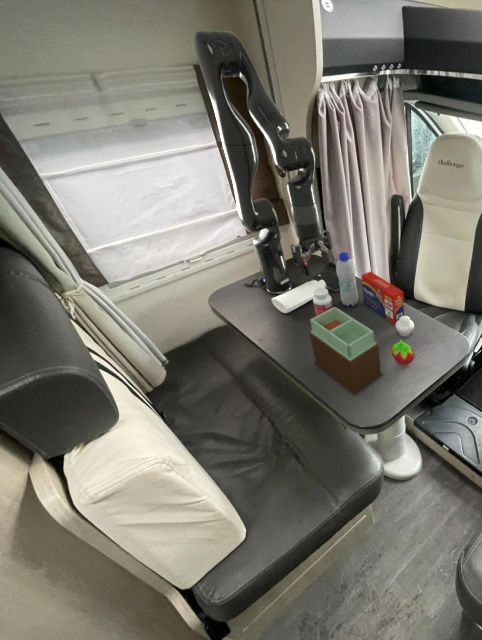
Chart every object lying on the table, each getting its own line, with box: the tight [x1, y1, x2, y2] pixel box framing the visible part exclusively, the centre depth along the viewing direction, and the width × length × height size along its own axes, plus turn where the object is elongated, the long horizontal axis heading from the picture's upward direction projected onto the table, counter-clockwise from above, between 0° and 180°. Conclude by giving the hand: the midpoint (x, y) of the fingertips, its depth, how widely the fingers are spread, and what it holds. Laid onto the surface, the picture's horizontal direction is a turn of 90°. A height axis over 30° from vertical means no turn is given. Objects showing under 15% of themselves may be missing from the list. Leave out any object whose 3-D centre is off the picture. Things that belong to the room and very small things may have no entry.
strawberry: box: [391, 339, 415, 366], centre depth 107 cm, size 6×7×10 cm
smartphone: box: [311, 271, 340, 292], centre depth 145 cm, size 8×1×15 cm
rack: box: [308, 306, 382, 395], centre depth 103 cm, size 18×10×17 cm, turn 47°
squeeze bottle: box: [270, 280, 327, 314], centre depth 134 cm, size 10×20×5 cm, turn 139°
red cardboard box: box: [361, 271, 405, 326], centre depth 127 cm, size 18×4×12 cm, turn 42°
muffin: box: [394, 315, 415, 337], centre depth 119 cm, size 6×6×7 cm
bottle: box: [335, 251, 359, 307], centre depth 128 cm, size 7×7×20 cm
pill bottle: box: [312, 288, 334, 317], centre depth 124 cm, size 6×6×11 cm
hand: (316, 269), depth 115 cm, fingers open, 8 cm apart
